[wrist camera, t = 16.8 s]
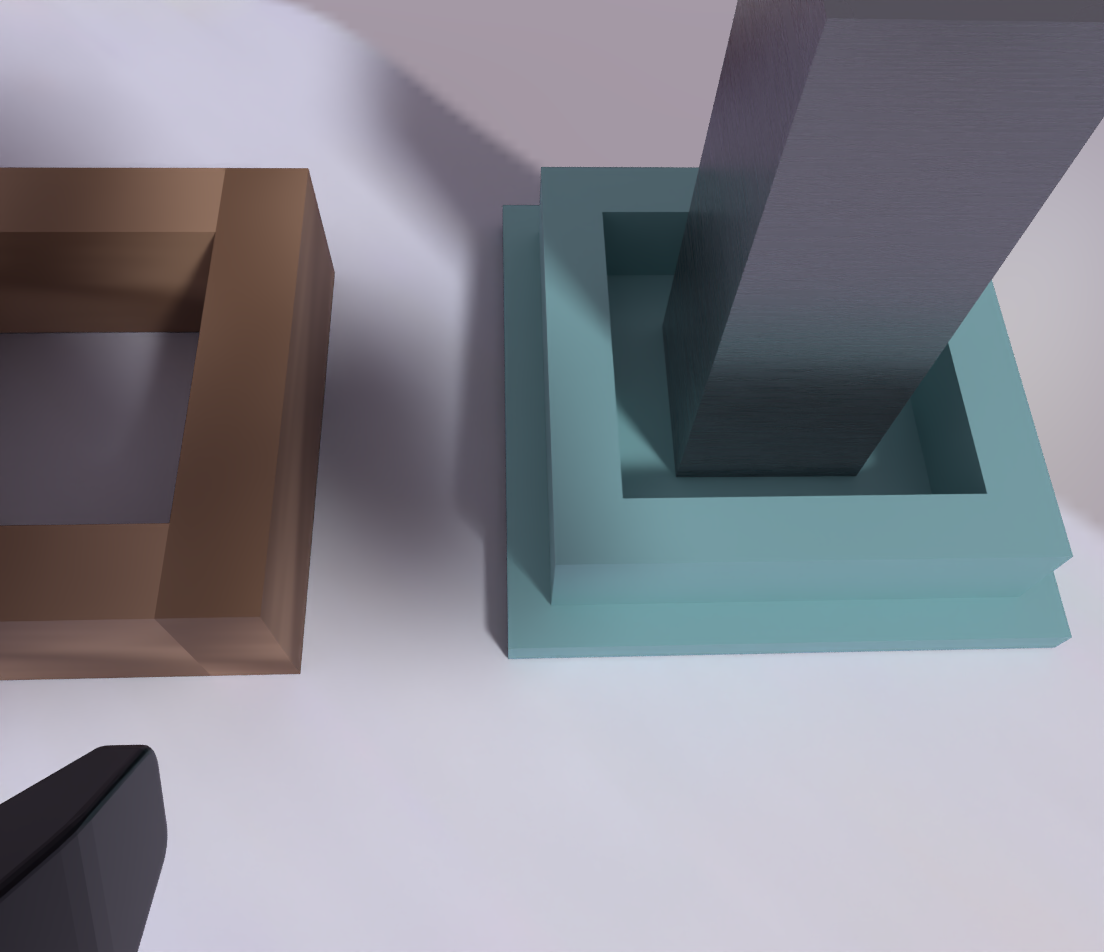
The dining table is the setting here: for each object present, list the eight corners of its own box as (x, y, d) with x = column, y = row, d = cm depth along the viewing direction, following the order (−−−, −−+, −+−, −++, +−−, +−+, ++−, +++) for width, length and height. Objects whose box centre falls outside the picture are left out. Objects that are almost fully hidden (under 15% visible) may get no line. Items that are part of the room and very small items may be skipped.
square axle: (828, 327, 26) (1075, -180, 15) (856, 476, 24) (1167, 23, 13) (662, 327, 26) (780, -187, 15) (675, 477, 24) (826, 18, 13)
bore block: (334, 272, 28) (308, 168, 24) (300, 673, 22) (260, 616, 19) (-86, 273, 27) (-177, 166, 23) (-222, 685, 22) (-365, 628, 18)
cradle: (939, 224, 29) (987, 140, 26) (1054, 647, 23) (1133, 600, 20) (502, 224, 29) (501, 138, 26) (508, 658, 23) (507, 611, 20)
